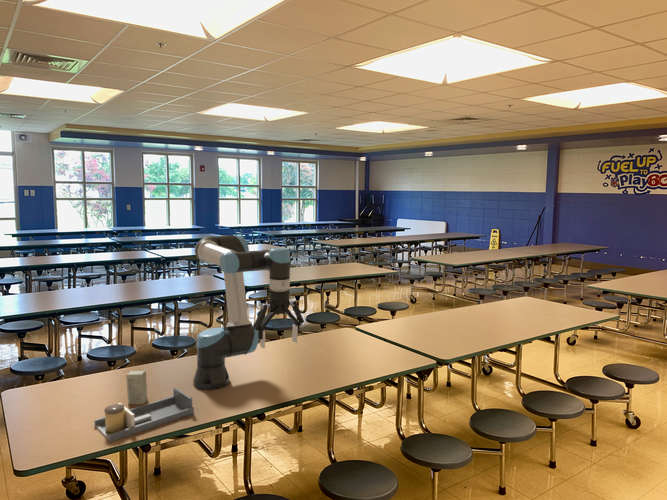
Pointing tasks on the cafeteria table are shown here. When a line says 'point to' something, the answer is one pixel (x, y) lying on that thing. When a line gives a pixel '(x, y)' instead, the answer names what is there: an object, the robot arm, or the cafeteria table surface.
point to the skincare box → (136, 387)
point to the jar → (114, 418)
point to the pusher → (130, 419)
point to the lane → (153, 415)
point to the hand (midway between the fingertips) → (279, 344)
